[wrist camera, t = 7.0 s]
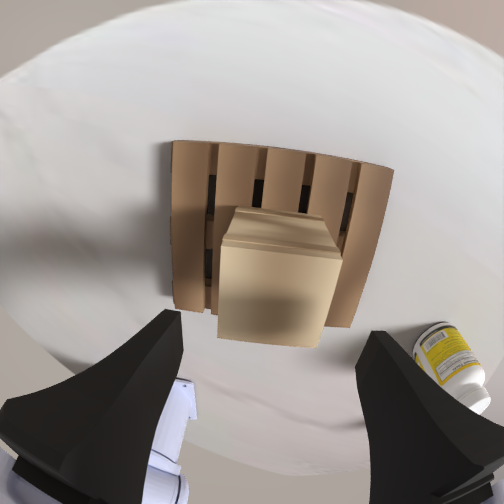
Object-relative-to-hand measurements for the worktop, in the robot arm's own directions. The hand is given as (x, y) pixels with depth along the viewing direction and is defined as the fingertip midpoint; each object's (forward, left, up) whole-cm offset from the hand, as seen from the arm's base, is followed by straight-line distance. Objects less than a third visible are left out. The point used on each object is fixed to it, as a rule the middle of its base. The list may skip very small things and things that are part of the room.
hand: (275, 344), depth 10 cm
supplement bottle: (+18, -9, -11) cm, 23 cm away
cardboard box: (0, 0, -9) cm, 9 cm away
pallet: (0, 0, -10) cm, 10 cm away
